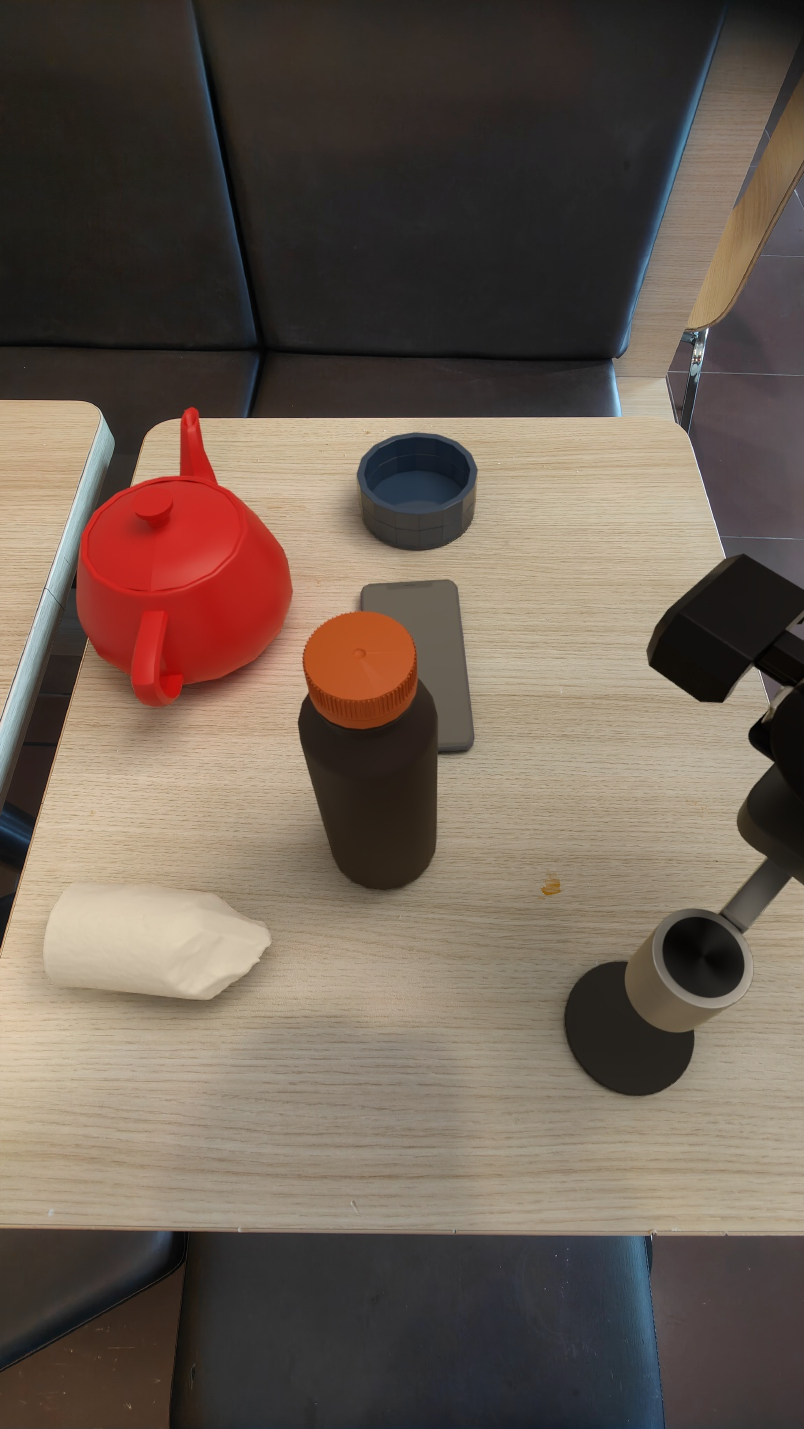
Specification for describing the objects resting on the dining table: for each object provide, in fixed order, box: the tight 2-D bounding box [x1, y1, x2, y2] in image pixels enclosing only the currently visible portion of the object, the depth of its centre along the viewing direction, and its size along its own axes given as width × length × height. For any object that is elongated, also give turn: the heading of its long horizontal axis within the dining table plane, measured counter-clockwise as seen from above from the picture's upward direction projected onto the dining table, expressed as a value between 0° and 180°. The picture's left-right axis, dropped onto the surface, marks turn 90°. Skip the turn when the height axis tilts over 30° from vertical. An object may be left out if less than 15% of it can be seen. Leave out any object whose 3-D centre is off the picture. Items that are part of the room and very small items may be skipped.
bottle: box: [297, 610, 439, 892], centre depth 42 cm, size 7×7×20 cm
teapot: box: [75, 406, 294, 708], centre depth 56 cm, size 25×16×12 cm, turn 0°
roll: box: [42, 879, 273, 1001], centre depth 44 cm, size 6×12×6 cm, turn 84°
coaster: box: [563, 960, 695, 1097], centre depth 43 cm, size 7×7×1 cm
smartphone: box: [359, 578, 476, 752], centre depth 57 cm, size 8×1×15 cm
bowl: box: [356, 431, 479, 551], centre depth 65 cm, size 10×10×4 cm
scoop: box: [625, 856, 793, 1032], centre depth 35 cm, size 15×4×6 cm, turn 133°
